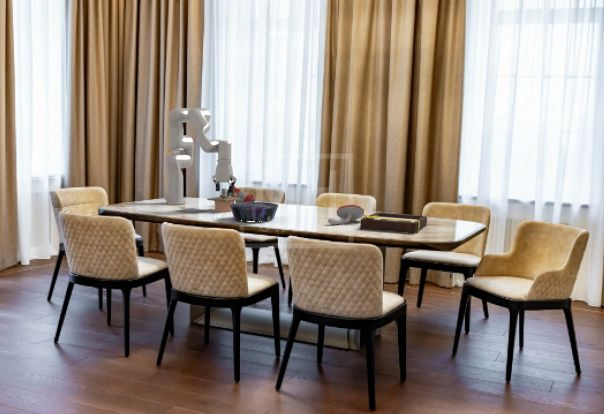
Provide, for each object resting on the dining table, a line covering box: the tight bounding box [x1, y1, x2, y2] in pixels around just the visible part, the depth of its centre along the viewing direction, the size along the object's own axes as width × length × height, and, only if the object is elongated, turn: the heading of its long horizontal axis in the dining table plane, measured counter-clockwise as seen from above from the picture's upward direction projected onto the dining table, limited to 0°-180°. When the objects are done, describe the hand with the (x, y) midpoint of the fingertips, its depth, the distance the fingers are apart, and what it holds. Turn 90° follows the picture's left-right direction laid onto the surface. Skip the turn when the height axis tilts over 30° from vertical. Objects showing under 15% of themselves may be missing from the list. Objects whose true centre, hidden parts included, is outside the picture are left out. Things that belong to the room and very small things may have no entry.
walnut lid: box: [206, 188, 241, 202], centre depth 381 cm, size 14×14×6 cm
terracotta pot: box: [214, 201, 235, 213], centre depth 381 cm, size 11×11×7 cm
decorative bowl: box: [229, 201, 279, 223], centre depth 356 cm, size 26×28×10 cm
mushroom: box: [327, 204, 365, 226], centre depth 352 cm, size 13×26×10 cm, turn 123°
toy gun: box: [219, 184, 256, 203], centre depth 402 cm, size 5×22×15 cm, turn 80°
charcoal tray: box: [174, 207, 212, 215], centre depth 379 cm, size 16×16×1 cm
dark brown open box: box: [359, 211, 428, 234], centre depth 340 cm, size 28×7×30 cm
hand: (224, 191), depth 380 cm, fingers open, 9 cm apart
